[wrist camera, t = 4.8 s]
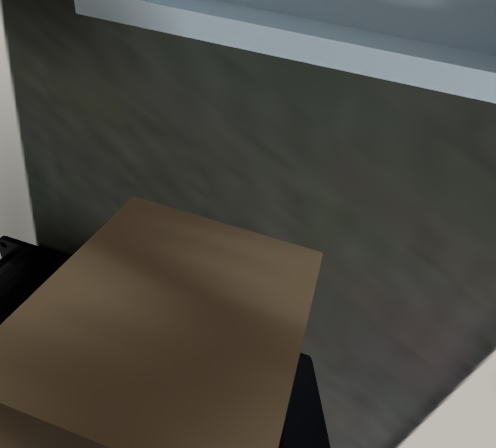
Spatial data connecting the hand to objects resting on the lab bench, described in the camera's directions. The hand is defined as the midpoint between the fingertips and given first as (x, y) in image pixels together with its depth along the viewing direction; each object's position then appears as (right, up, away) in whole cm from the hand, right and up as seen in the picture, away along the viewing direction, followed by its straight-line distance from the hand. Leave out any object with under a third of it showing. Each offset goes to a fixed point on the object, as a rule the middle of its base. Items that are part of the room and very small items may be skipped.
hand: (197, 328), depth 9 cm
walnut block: (0, +1, +1) cm, 1 cm away
